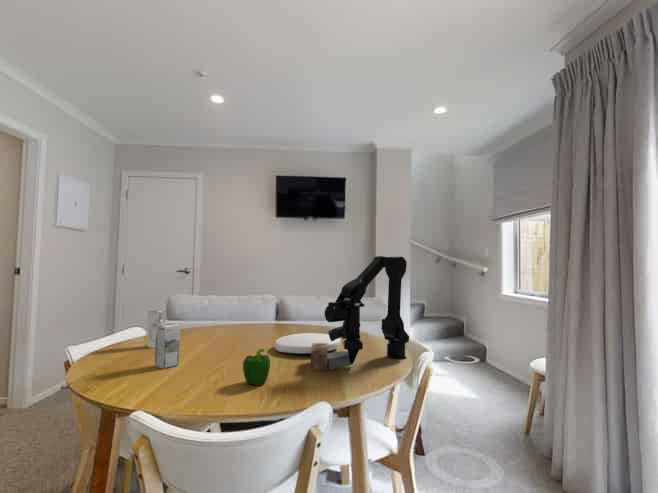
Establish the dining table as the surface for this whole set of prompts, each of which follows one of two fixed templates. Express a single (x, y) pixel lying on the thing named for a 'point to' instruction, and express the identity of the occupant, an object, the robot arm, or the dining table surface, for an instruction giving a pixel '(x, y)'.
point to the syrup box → (167, 345)
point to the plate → (304, 342)
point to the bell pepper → (256, 368)
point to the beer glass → (154, 325)
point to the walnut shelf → (319, 356)
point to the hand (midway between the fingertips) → (351, 363)
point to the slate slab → (337, 359)
